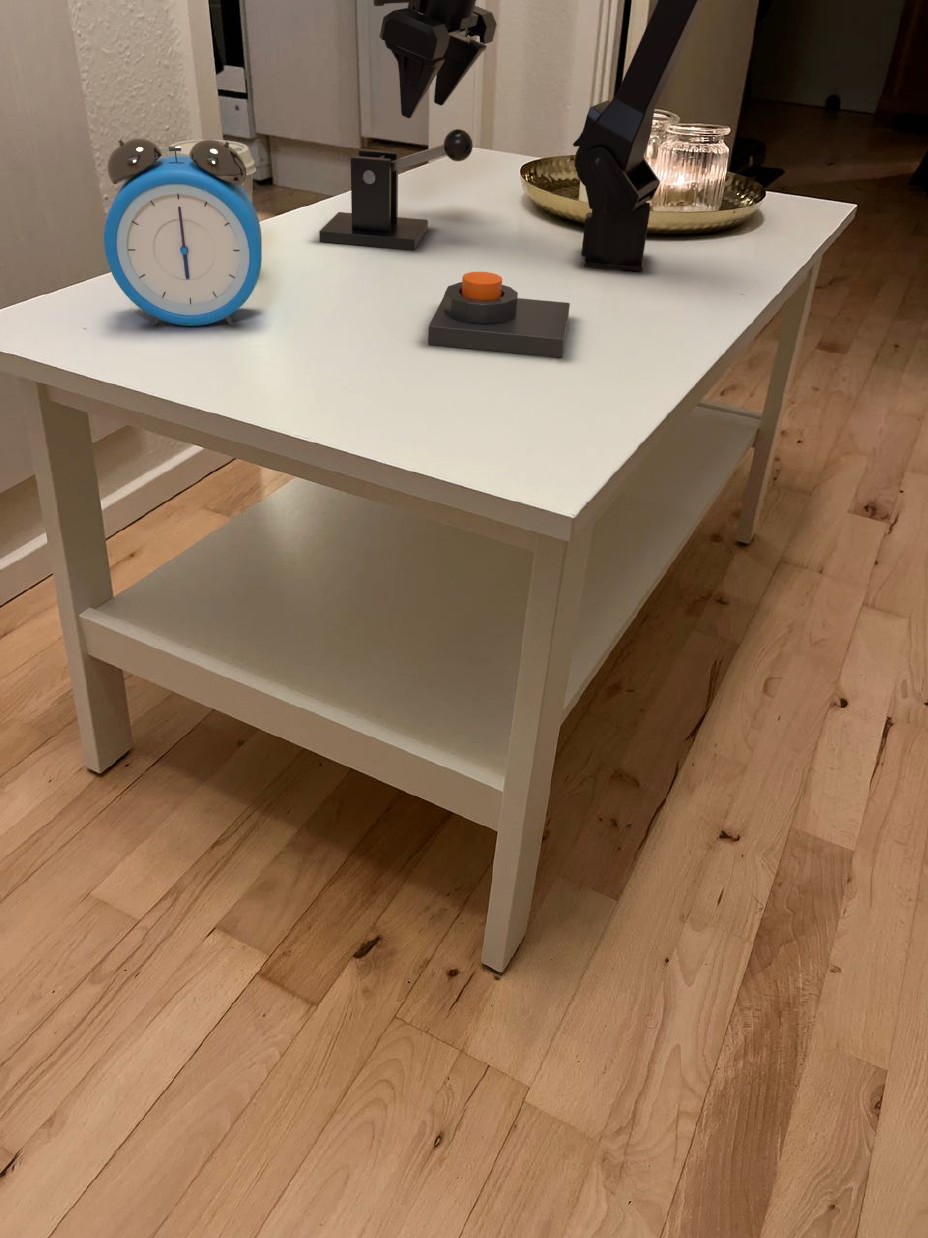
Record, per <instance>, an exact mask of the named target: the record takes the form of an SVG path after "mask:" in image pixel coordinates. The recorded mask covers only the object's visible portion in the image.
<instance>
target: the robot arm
mask: <svg viewBox="0 0 928 1238" xmlns="http://www.w3.org/2000/svg"><path fill="white" fill-rule="evenodd" d="M372 1H373V6H374V7H383V6H384V5H387V4H388V5H389V4H407V3H408V4H407V7H405V8H400V9H394V10H392V11H390V12H389V13H388V14H386V15H384V16H383V17H382V21H381V26H380V32H379V38H380V39H381V40H382V41H383V42H384V45H385V48H386V49H388V50H389V51H391V53H392V55H393V56H394V58H395V60H396V62H397V67H398V76H399V77H398V79H399V94H400V95H399V97H400V114H401V116H402V117H404V118H407V119H412V117H413V116H414V114H415V113H416V111H417V109H418V107H419V106H420V104H421V103H422V101H423V99H424V97H425V96H426V94H427V92H428V90H429V88H430V87H431V85H432V84H433V81H434V80H435V84H434V94H433V95H434V96H433V102H434V104H435V105H438V106H439V107H442V106H444V105H445V104H446V102H447V100H448V99H449V98H450V96H451V95H452V94H453V92H454V91H455V90H456V88H457V86H458V85H459V84H460V82H461V81H462V80H463V78H464V77H465V75H466V74H467V73H468V72H469V70H470V69H471V68H472V67H473V65H474V64H475V63H476V61H477V60H478V58H479V57H480V56H481V54H482V53H483V52H485V51H486V50H487V44H489V43H493V41H494V37H495V33H496V28H497V21H496V19H495V16H494V13H493V12H492V11H489V10H488V9H485V8H482V7H479V6H478V5H476V3H477V0H372ZM705 2H706V0H657V2H656V4H655V7H654V9H653V11H652V13H651V15H650V18H649V21H648V22H647V25H646V27H645V29H644V32H643V34H642V36H641V39H640V41H639V43H638V45H637V47H636V50H635V52H634V54H633V56H632V59H631V61H630V64H629V65H628V68H627V69H626V72H625V74H624V76H623V79H622V81H621V83H620V85H619V88H618V90H617V92H616V94H615V95H614V97H613V98H612V99H611V100H610V99H606V100H604V101H602V102H600V103H597V104H594V105H592V106H590V107H589V109H588V112H587V114H586V118H585V121H584V126H583V128H582V131H581V133H580V135H579V136H578V138H577V139H576V140H575V141H574V142H573V143H572V146H573V147H577V150H576V152H575V156H574V160H573V161H574V163H573V166H574V169H575V171H576V174H577V178H578V179H579V181H580V182H581V184H582V185H583V186H584V187H585V192H586V197H587V203H588V207H589V209H590V210H591V212H589V211H588V212H587V213H586V214H585V219H584V227H583V228H584V229H583V235H582V245H581V254H580V255H581V256H582V257H583V258H584V266H585V267H592V268H602V269H613V270H614V269H615V270H624V271H634V272H635V271H636V272H642V271H644V254H645V246H646V240H647V233H648V227H649V220H650V214H651V203H650V202H649V201H651V200H653V198H654V197H655V194H656V192H657V191H658V188H659V187H660V184H661V181H660V179H659V177H658V176H657V174H656V173H655V172H654V170H653V169H652V167H651V165H650V164H649V163H648V161H647V160H646V158H645V155H646V151H647V149H648V145H649V141H650V138H651V134H652V129H653V122H654V118H655V117H654V116H655V111H656V107H657V104H658V102H659V99H660V97H661V95H662V93H663V91H664V89H665V87H666V85H667V83H668V81H669V79H670V76H671V74H672V73H673V70H674V68H675V65H676V64H677V61H678V59H679V58H680V55H681V53H682V51H683V49H684V47H685V44H686V43H687V40H688V39H689V36H690V34H691V32H692V30H693V28H694V25H695V23H696V20H697V19H698V17H699V15H700V13H701V10H702V8H703V6H704V4H705ZM478 38H479V41H477V39H478ZM435 78H436V79H435Z"/></svg>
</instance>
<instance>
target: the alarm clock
mask: <svg viewBox="0 0 928 1238" xmlns="http://www.w3.org/2000/svg"><path fill="white" fill-rule="evenodd" d="M202 140H203V141H200V142H198V143H196V144H195V145H194V146H193V147H192V149H191V151H190V153H189V156H190V157H180V156H176V151H181V147H174V146H170V145H169V146H168V152H169V151H175V157H168V156H166V157H165V156H164V157H162V156H163V152H162V150H161V149H160V147H159V146H158V145H157V144H156V143H155V142H153V141H151V140H149V139H146V138H140V137H137V138H130V139H128V140H126V141H123V140H122V139H119V140H118V141H117V143H118V144H119V145H117V147H115V148H114V149H113V150H112V152H110V154H109V156H108V159H107V163H106V173H107V176H108V178H109V180H110V182H111V183H112V184H113V185H118V184H120V183H122V184H121V186H120V188H119V189H118V191H117V193H116V195H115V197H114V199H113V201H112V203H111V206H110V208H109V210H108V213H107V216H106V219H105V223H104V229H103V230H104V231H103V246H104V253H105V258H106V261H107V265H108V268H109V270H110V272H111V275H112V277H113V279H114V280H115V282H116V284H117V285H118V287H119V288H120V290H121V291H122V292H123V294H124V295H125V296H126V297H127V298H128V299H129V300H130V301H131V302H132V303H133V304H135V306H137V307H138V308H140V310H142V311H143V312H145V313H147V314H148V315H150V316H152V317H153V322H152V326H153V327H156V326H157V324H158V323H159V321H160V320H161V321H163V322H166V323H169V324H174V325H177V326H186V327H190V326H191V327H197V326H198V327H199V326H204V325H205V326H206V325H209V324H214V323H217V322H219V321H222V320H225V321H226V322H227V323H228V324H229V325H230V326H234V323H233V320H232V318H231V315H233V314H235V312H236V311H238V310H239V309H241V307H242V306H243V305H245V303H246V302H247V300H249V298H250V297H251V295H252V294H253V292H254V290H255V288H256V286H257V283H258V282H259V281H258V280H259V277H260V274H261V269H262V261H263V260H262V259H263V256H262V255H263V253H262V252H263V251H262V249H263V248H262V247H263V246H262V244H263V243H262V228H261V224H260V219H259V216H258V213H257V211H256V208H255V206H254V204H253V201H252V202H251V200H250V199H249V197H248V196H247V194H246V193H245V191H244V190H243V189H242V187H241V186H242V185H243V184H244V182H245V179H246V167H245V164H244V162H243V160H242V158H241V157H240V155H239V154H238V153H237V152H236V151H235V150H234V149H233V148H231V147H230V146H229V144H230V143H229V142H227V141H228V140H226V143H223V142H220V141H217V140H218V139H202ZM240 185H241V186H240Z"/></svg>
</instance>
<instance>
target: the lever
mask: <svg viewBox="0 0 928 1238" xmlns="http://www.w3.org/2000/svg"><path fill="white" fill-rule="evenodd" d="M473 147H474V146H473V140H472V138H471V136H470V134H469V132H467V131H465V130H464V129H460V128H459V129H458V128H456V129H452V130H451V131H449V132H448V133H447V134H446V136H445V138H444V140H443V144H440V145H437V146H433V147H431V148H427V149H425V150H424V149H423V150H421V151H418V152H414V153H412V154H409V155H406V156H402V157H398V159H396V160H392V161H391V172H394V171H397V170H398V171H399V170H403V169H406V168H410V167H413V166H415V165H419V164H422V163H425V162H428V161H432V160H435V159H439V158H441V157H445V156H447V158H448V159H449V160H451V161H454V162H462V161H465V160H467V159H468V158H469V157H470V155H471V154H472V152H473ZM378 158H385V156H381V157H378Z"/></svg>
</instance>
